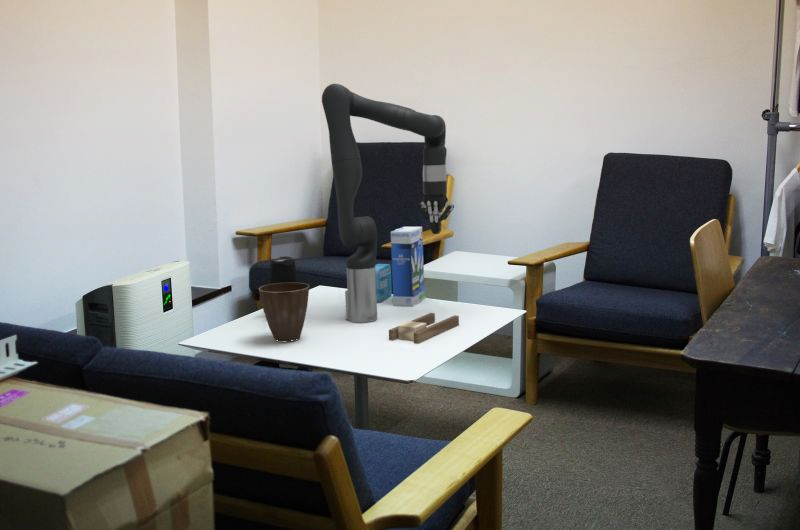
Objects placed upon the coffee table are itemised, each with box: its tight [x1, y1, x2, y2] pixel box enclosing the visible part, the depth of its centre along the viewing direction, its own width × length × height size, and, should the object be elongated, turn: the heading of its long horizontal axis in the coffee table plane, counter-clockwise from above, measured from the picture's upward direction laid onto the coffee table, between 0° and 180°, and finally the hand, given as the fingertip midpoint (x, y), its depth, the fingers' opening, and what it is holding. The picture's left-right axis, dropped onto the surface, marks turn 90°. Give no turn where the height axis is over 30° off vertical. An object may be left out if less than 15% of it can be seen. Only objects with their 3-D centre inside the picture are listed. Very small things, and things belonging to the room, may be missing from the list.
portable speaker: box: [268, 255, 299, 285], centre depth 306 cm, size 9×9×20 cm
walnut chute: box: [388, 312, 460, 345], centre depth 277 cm, size 10×24×4 cm, turn 148°
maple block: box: [397, 320, 427, 342], centre depth 271 cm, size 6×6×4 cm
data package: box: [375, 263, 393, 303], centre depth 328 cm, size 12×4×12 cm, turn 159°
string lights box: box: [390, 226, 426, 307], centre depth 320 cm, size 13×8×26 cm, turn 160°
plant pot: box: [258, 282, 310, 342], centre depth 276 cm, size 15×15×16 cm
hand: (436, 233), depth 295 cm, fingers closed
